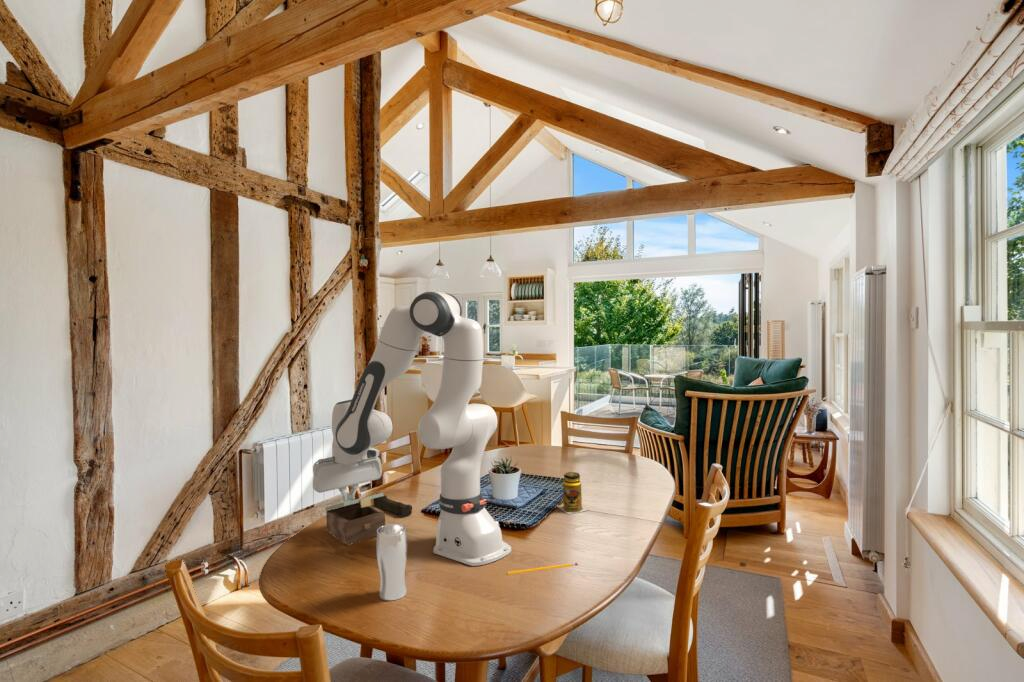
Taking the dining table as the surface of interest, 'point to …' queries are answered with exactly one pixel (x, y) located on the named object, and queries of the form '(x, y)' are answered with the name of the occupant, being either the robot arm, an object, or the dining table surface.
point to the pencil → (542, 568)
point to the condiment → (572, 493)
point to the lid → (363, 502)
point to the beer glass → (392, 560)
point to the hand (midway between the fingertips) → (348, 500)
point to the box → (354, 522)
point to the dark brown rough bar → (393, 506)
